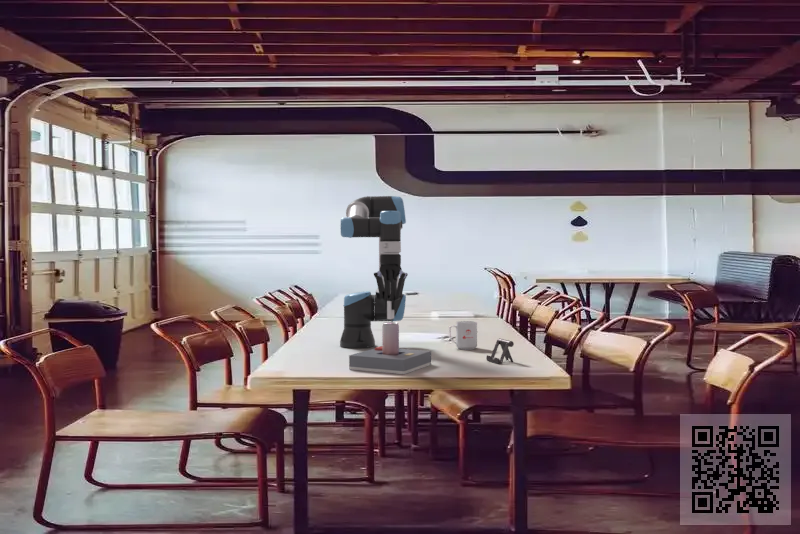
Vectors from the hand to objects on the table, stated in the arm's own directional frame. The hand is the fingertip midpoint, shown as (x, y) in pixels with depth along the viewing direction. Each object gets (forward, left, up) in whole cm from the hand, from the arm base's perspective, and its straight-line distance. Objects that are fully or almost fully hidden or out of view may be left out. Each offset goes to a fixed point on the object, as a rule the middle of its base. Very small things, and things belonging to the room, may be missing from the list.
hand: (390, 318), depth 272 cm
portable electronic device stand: (+32, +28, -18) cm, 46 cm away
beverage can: (0, 0, -17) cm, 17 cm away
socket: (0, 0, -18) cm, 18 cm away
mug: (+6, +53, -18) cm, 56 cm away
